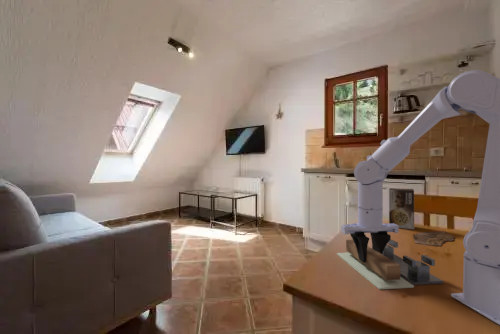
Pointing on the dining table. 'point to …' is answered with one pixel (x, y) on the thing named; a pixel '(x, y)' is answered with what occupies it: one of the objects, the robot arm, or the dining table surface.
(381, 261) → the rail
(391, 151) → the robot arm
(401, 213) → the coffee box
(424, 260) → the rack
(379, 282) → the mat
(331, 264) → the dining table surface
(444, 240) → the wooden fragment
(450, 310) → the dining table surface
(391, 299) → the dining table surface
